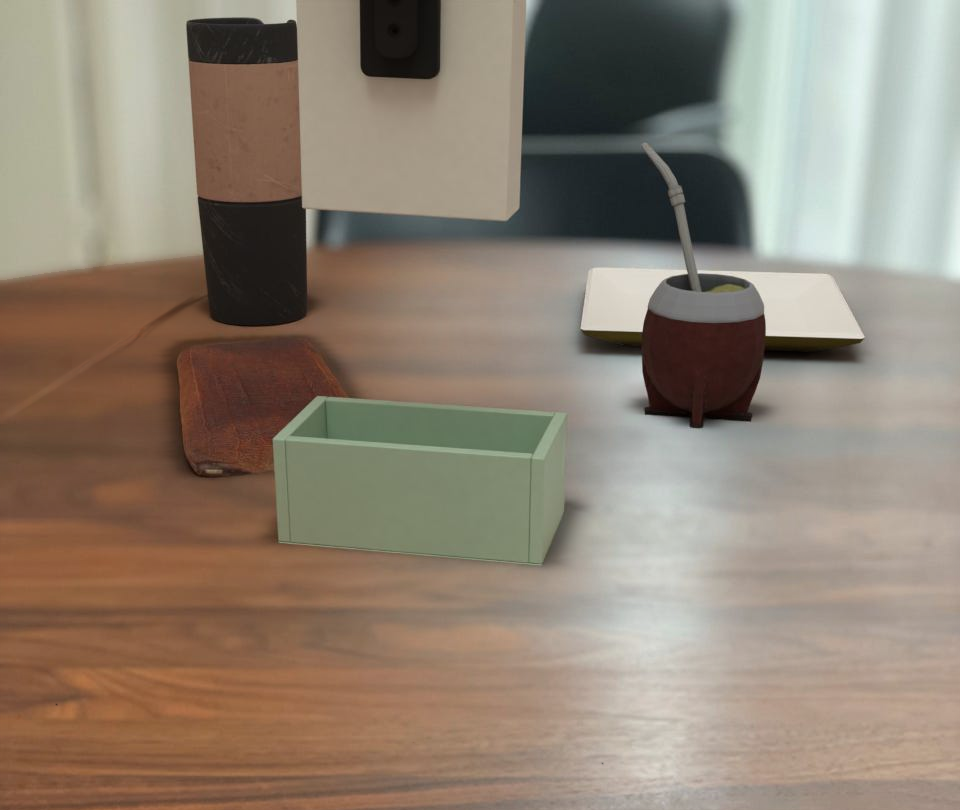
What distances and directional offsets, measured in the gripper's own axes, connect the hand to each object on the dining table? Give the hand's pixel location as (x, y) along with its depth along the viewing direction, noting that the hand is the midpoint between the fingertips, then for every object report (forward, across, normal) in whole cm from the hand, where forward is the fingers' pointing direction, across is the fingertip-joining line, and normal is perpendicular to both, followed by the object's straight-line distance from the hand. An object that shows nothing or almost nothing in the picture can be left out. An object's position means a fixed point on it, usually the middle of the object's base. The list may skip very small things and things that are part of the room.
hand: (411, 68), depth 62 cm
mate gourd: (+21, -22, +12) cm, 32 cm away
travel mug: (+22, -40, -21) cm, 50 cm away
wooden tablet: (+21, -18, -13) cm, 31 cm away
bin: (+21, 0, +1) cm, 21 cm away
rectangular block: (+6, 0, 0) cm, 6 cm away
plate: (+21, -44, +12) cm, 50 cm away
